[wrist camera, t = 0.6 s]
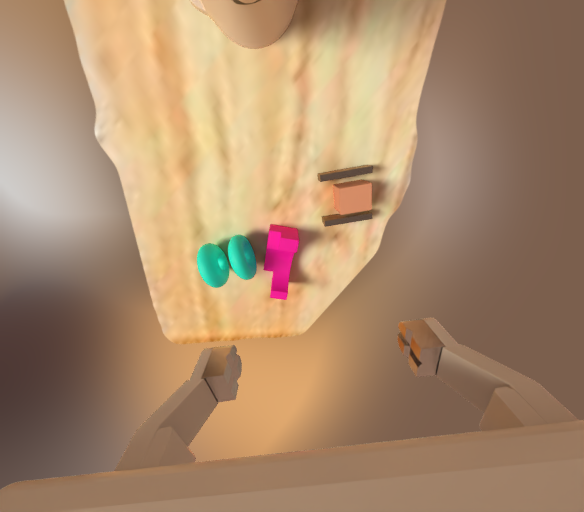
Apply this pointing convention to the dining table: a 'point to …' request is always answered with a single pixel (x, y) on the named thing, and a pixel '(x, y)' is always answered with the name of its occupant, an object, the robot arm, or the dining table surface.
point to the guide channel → (344, 173)
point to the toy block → (280, 257)
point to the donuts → (226, 261)
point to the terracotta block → (352, 196)
